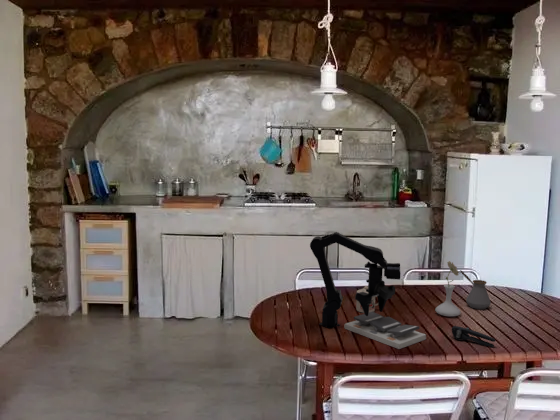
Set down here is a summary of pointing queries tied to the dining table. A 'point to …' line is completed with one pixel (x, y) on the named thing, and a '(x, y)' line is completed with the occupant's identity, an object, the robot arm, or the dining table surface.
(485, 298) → the coffee pot
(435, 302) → the dining table surface
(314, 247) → the robot arm
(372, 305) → the teacup with lid
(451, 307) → the flower in vase
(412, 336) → the switch panel
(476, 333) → the can opener
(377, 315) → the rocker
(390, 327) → the panel
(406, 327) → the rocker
